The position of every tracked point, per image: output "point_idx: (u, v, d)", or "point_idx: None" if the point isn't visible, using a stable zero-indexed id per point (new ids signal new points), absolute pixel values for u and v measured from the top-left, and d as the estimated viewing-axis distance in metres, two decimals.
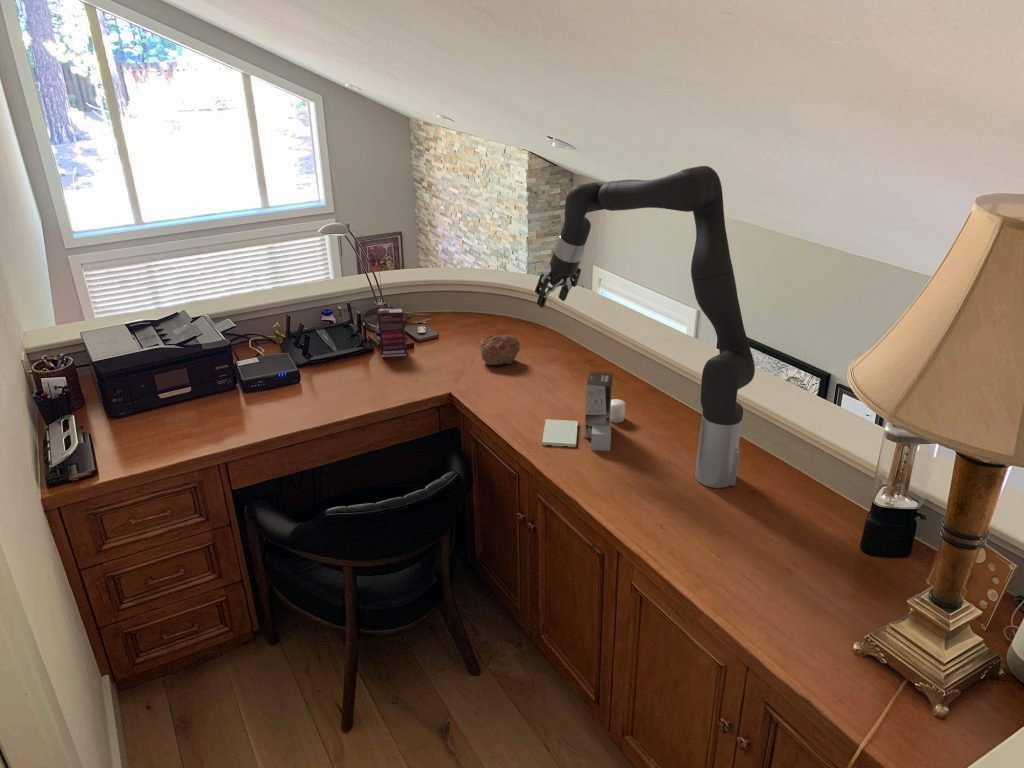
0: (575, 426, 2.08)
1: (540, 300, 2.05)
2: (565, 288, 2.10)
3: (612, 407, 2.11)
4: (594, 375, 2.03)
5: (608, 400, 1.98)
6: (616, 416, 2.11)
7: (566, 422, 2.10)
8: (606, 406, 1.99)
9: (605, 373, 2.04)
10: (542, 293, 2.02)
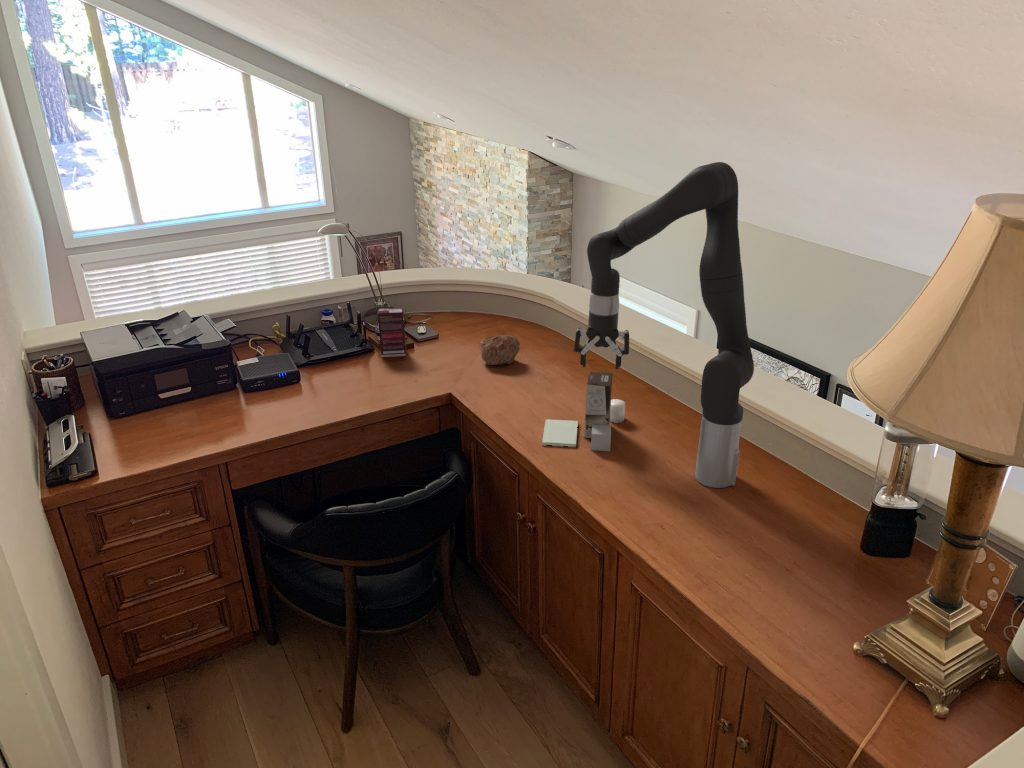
0: (575, 426, 2.08)
1: None
2: (616, 354, 1.97)
3: (612, 407, 2.11)
4: (594, 375, 2.03)
5: (608, 400, 1.98)
6: (616, 416, 2.11)
7: (566, 422, 2.10)
8: (606, 406, 1.99)
9: (605, 373, 2.04)
10: (576, 347, 1.97)
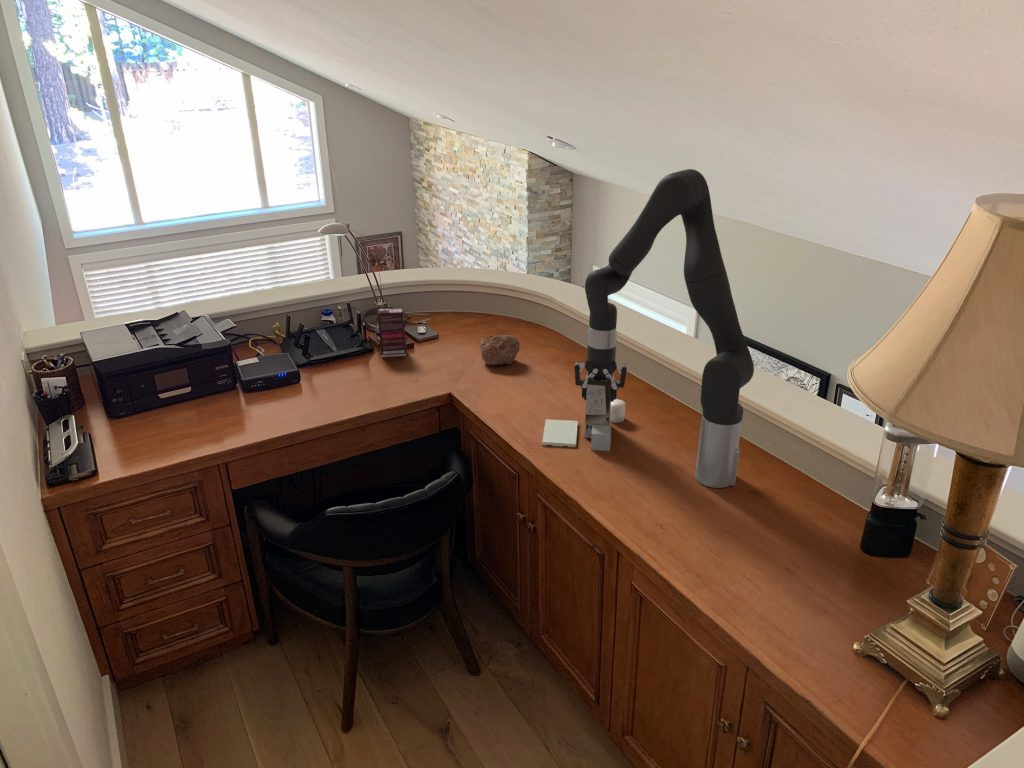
0: (575, 426, 2.08)
1: None
2: (612, 387, 2.01)
3: (612, 407, 2.11)
4: None
5: (608, 400, 1.98)
6: (616, 416, 2.11)
7: (566, 422, 2.10)
8: (606, 406, 1.99)
9: None
10: (577, 381, 2.01)
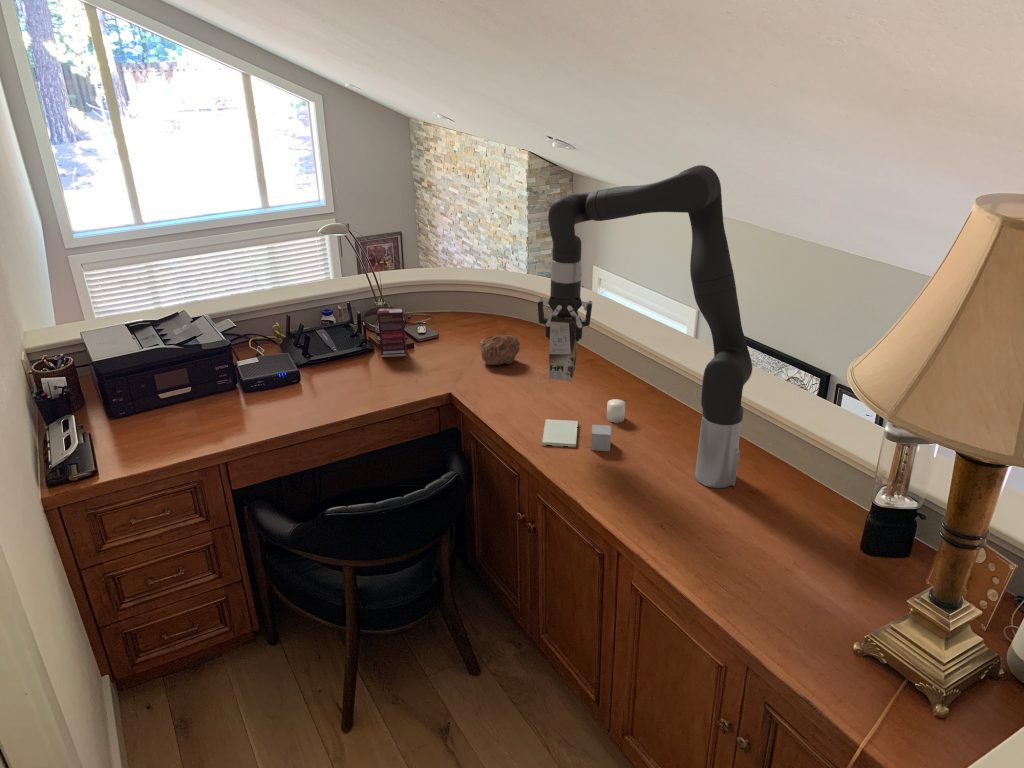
0: (575, 426, 2.08)
1: None
2: (577, 326, 1.92)
3: (612, 407, 2.11)
4: None
5: (572, 338, 1.89)
6: (616, 416, 2.11)
7: (566, 422, 2.10)
8: (570, 345, 1.90)
9: None
10: (540, 319, 1.92)
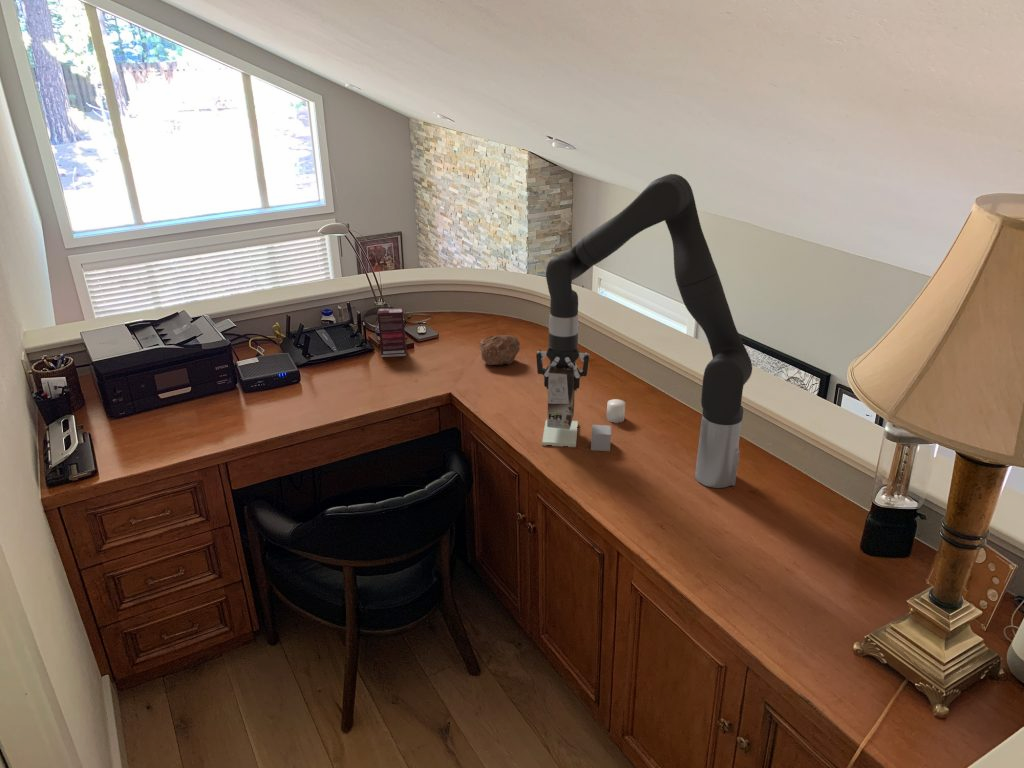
0: (575, 426, 2.08)
1: (544, 380, 1.99)
2: (575, 376, 1.98)
3: (612, 407, 2.11)
4: None
5: (570, 389, 1.95)
6: (616, 416, 2.11)
7: None
8: (568, 395, 1.96)
9: None
10: (539, 369, 1.97)
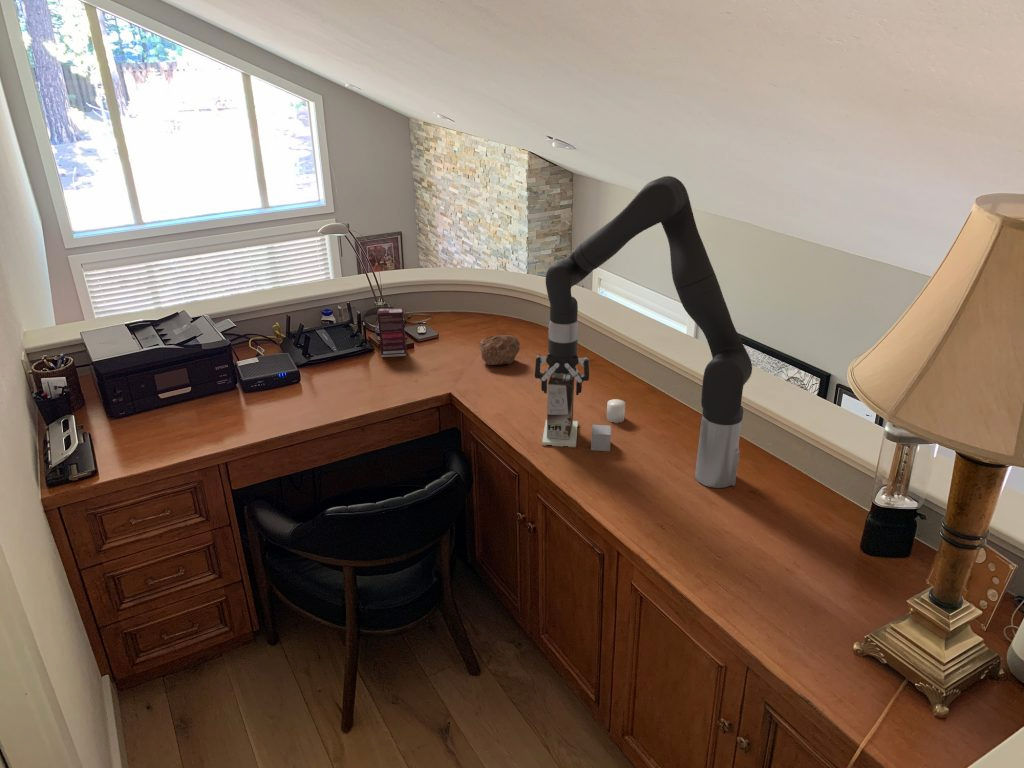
0: (575, 426, 2.08)
1: None
2: (577, 380, 1.98)
3: (612, 407, 2.11)
4: (556, 375, 2.01)
5: (570, 400, 1.96)
6: (616, 416, 2.11)
7: None
8: (568, 406, 1.97)
9: None
10: (536, 374, 1.98)
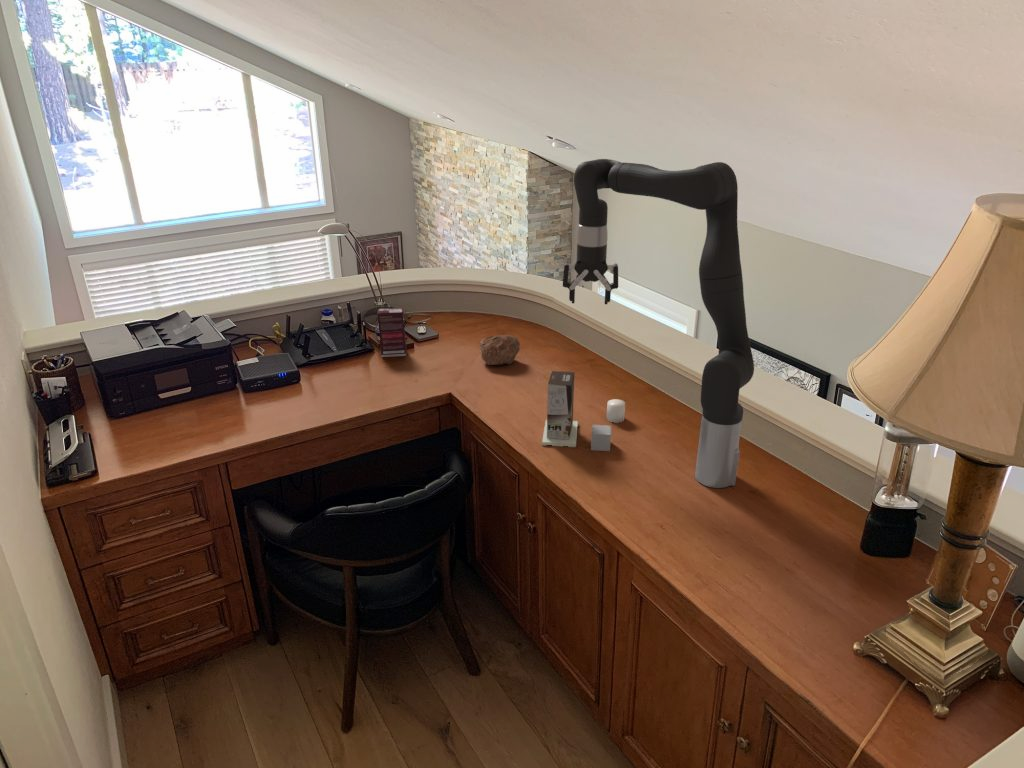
0: (575, 426, 2.08)
1: (569, 294, 1.96)
2: (605, 289, 1.95)
3: (612, 407, 2.11)
4: (556, 375, 2.01)
5: (570, 400, 1.96)
6: (616, 416, 2.11)
7: None
8: (568, 406, 1.97)
9: (567, 372, 2.02)
10: (564, 282, 1.94)
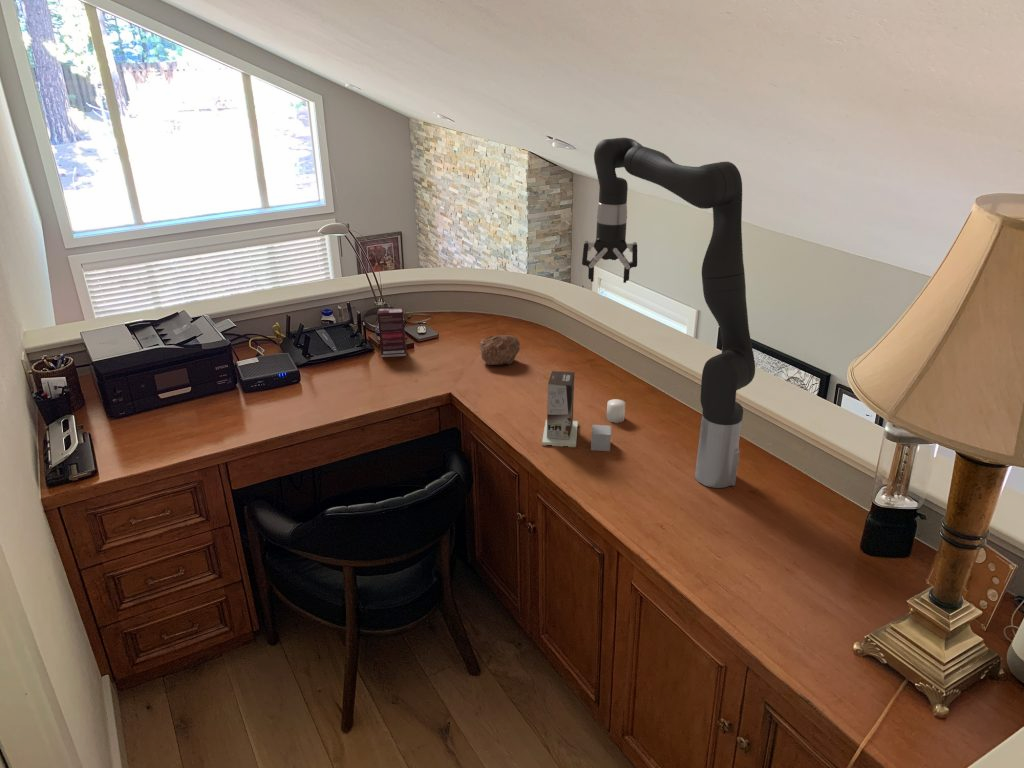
0: (575, 426, 2.08)
1: None
2: (624, 267, 1.96)
3: (612, 407, 2.11)
4: (556, 375, 2.01)
5: (570, 400, 1.96)
6: (616, 416, 2.11)
7: None
8: (568, 406, 1.97)
9: (567, 372, 2.02)
10: (583, 260, 1.96)
